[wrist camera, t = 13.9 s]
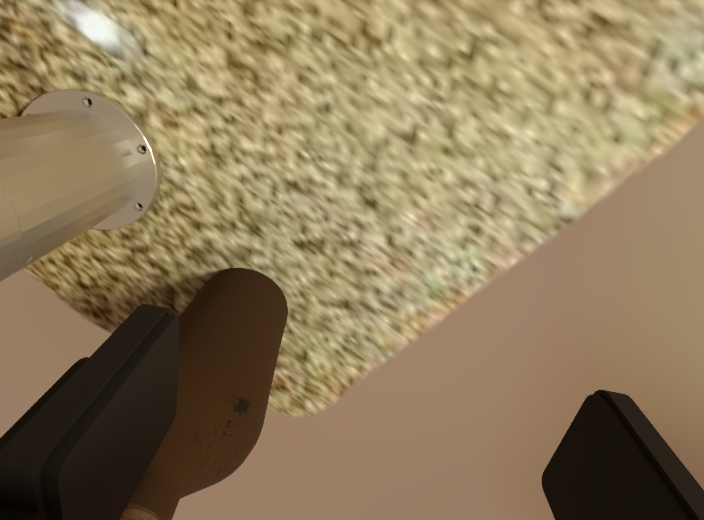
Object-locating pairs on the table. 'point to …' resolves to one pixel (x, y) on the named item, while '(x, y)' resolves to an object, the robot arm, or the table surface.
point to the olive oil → (215, 389)
